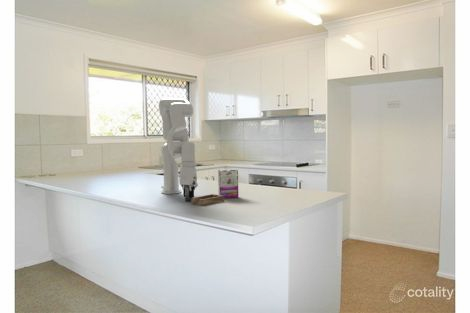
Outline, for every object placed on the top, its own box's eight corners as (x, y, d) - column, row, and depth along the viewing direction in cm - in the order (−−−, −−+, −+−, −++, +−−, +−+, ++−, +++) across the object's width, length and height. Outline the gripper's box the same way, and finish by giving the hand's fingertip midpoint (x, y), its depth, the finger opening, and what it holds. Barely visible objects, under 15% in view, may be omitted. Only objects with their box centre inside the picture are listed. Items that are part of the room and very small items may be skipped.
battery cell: (183, 201, 191) (183, 183, 190) (189, 199, 194) (188, 183, 193) (188, 201, 188) (188, 184, 188) (193, 200, 191) (193, 183, 191)
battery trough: (191, 203, 184) (191, 198, 183) (212, 199, 196) (212, 194, 196) (202, 205, 178) (202, 200, 178) (224, 200, 190) (224, 195, 190)
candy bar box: (236, 196, 205) (236, 169, 204) (238, 197, 200) (238, 169, 199) (218, 197, 202) (217, 169, 201) (220, 198, 197) (219, 170, 196)
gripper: (173, 164, 192) (173, 196, 194) (193, 165, 182) (194, 199, 183) (183, 163, 198) (183, 194, 199) (203, 164, 187) (204, 197, 189)
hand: (188, 196), depth 191 cm, fingers closed on battery cell, 4 cm apart
